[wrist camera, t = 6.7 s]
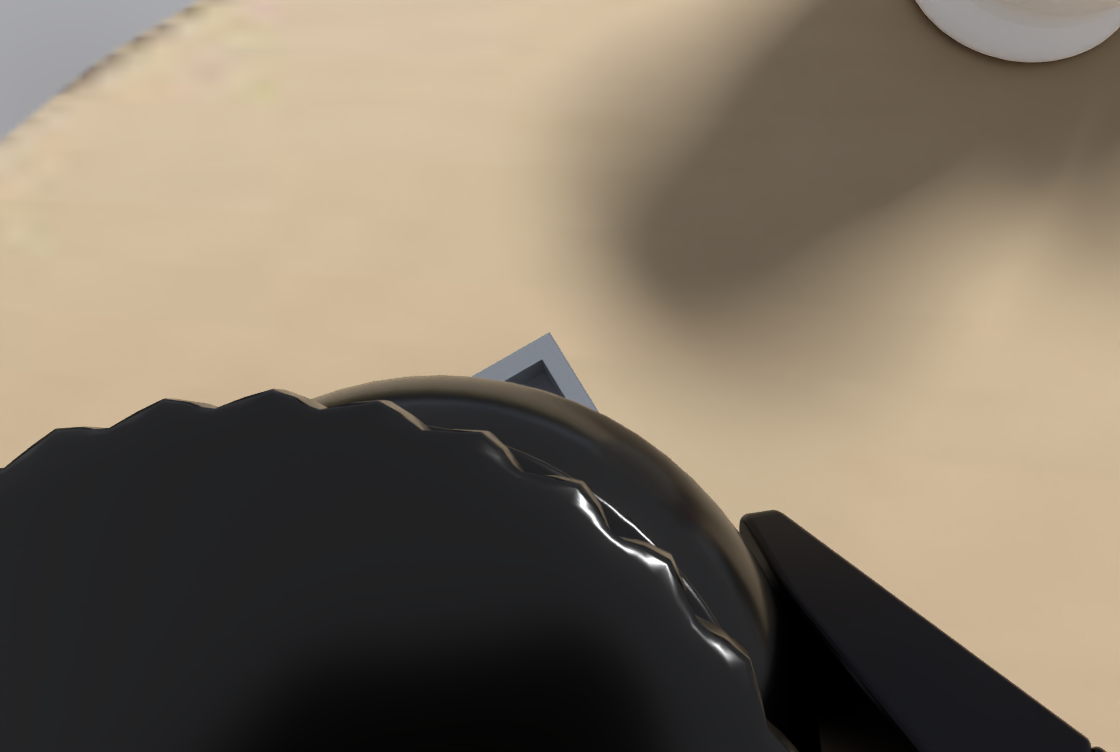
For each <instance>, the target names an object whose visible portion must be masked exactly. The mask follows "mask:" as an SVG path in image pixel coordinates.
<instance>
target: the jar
mask: <svg viewBox="0 0 1120 752" xmlns="http://www.w3.org/2000/svg"><path fill="white" fill-rule="evenodd" d="M915 1H916V2H917V4H918V5H919V7H920V8H921V9H922V11H923V12H924V13H925V15H926V16H927V17H928V18H929V19H930V20H931V21H932V22H933V23H934V24H935V25H936V26H937V27H938V28H939V29H940V30H942V31H943V32H944V33H946V34H947V35H948V36H950V37H951V38H953V39H954V40H956V41H957V42H959V43H961V44H962V45H964V46H966V47H969V48H971V49H973V50H975V51H977V52H980V53H982V54H985V55H989V56H992V57H996V58H1000V59H1004V60H1009V61H1018V62H1048V61H1056V60H1060V59H1065V58H1069V57H1072V56H1075V55H1078V54H1081V53H1083V52H1085V51H1087V50H1090V49H1092V48H1093V47H1095V46H1097V45H1099V44H1100V43H1102V42H1103V41H1105V40H1106V39H1107V38H1108V37H1110V36H1111V35H1112V34H1113V33H1114V32H1115V31H1116V30H1117V29H1118V28H1119V27H1120V0H915Z"/></svg>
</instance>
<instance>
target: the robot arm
mask: <svg viewBox="0 0 1120 752" xmlns="http://www.w3.org/2000/svg"><path fill="white" fill-rule="evenodd" d="M739 533H740V534H741V536H742V537H743V539H744V540H745V542H746V543H747V545H748V547H749V548H750V550H751V551H752V553H753V554H754V556H755V558H756V559H757V561H758V562H759V564H760V565H761V567H762V568H763V570H764V572H765V574H766V576H767V578H768V580H769V582H770V584H771V586H772V588H773V590H774V592H775V594H776V596H777V597H778V599H779V601H780V603H781V606H782V608H783V610H784V613H785V615H786V618H787V620H788V623H789V625H790V628H791V630H792V633H793V635H794V637H795V640H796V642H797V645H798V648H799V652H800V655H801V658H802V661H803V665H804V668H805V671H806V674H807V678H808V681H809V684H810V689H811V693H812V698H813V703H814V708H815V712H816V717H817V722H818V726H819V735H820V743H821V751H822V752H1106V751H1105V750H1103V749H1102V748H1100V747H1093V748H1091V743H1090V741H1089V740H1088V738H1086V737H1085V736H1084V735H1082V734H1081V733H1080V732H1078V731H1077V730H1076V729H1074V728H1073V727H1072V726H1070V725H1069V724H1068V723H1066V722H1065V721H1063V720H1062V719H1061V718H1059V717H1058V716H1057V715H1055V714H1054V713H1053V712H1051V711H1050V710H1049V709H1047V708H1046V707H1044V706H1043V705H1042V704H1040V703H1039V702H1038V701H1036V700H1035V699H1034V698H1032V697H1031V696H1030V695H1028V694H1027V693H1026V692H1024V691H1023V690H1021V689H1020V688H1019V687H1017V686H1016V685H1015V684H1013V683H1012V682H1011V681H1009V680H1008V679H1007V678H1005V677H1004V676H1002V675H1001V674H1000V673H998V672H997V671H996V670H994V669H993V668H992V667H990V666H989V665H988V664H986V663H985V662H984V661H982V660H981V659H979V658H978V657H977V656H975V655H974V654H973V653H971V652H970V651H969V650H967V649H966V648H965V647H963V646H962V645H960V644H959V643H958V642H956V641H955V640H954V639H952V638H951V637H950V636H948V635H947V634H946V633H944V632H943V631H942V630H940V629H939V628H937V627H936V626H935V625H933V624H932V623H931V622H929V621H928V620H927V619H925V618H924V617H923V616H921V615H920V614H919V613H917V612H916V611H914V610H913V609H912V608H910V607H909V606H908V605H906V604H905V603H904V602H902V601H901V600H900V599H898V598H897V597H895V596H894V595H893V594H891V593H890V592H889V591H887V590H886V589H885V588H883V587H882V586H881V585H879V584H878V583H877V582H875V581H874V580H872V579H871V578H870V577H868V576H867V575H866V574H864V573H863V572H862V571H860V570H859V569H858V568H856V567H855V566H853V565H852V564H851V563H849V562H848V561H847V560H845V559H844V558H843V557H841V556H840V555H839V554H837V553H836V552H835V551H833V550H832V549H830V548H829V547H828V546H826V545H825V544H824V543H822V542H821V541H820V540H818V539H817V538H816V537H814V536H813V535H811V534H810V533H809V532H807V531H806V530H805V529H803V528H802V527H801V526H799V525H798V524H797V523H795V522H794V521H793V520H791V519H790V518H788V517H787V516H786V515H784V514H783V513H781V512H779V511H776V510H769V511H763V512H756V513H749V514H745V515H744V516H743V517H742V518H741V520H740V526H739Z"/></svg>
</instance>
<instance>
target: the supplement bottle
mask: <svg viewBox="0 0 1120 752" xmlns="http://www.w3.org/2000/svg"><path fill="white" fill-rule="evenodd" d="M0 752H822V751H821V743H820V735H819V726H818V722H817V717H816V712H815V708H814V703H813V698H812V693H811V689H810V684H809V681H808V678H807V674H806V671H805V668H804V665H803V661H802V658H801V655H800V652H799V648H798V645H797V642H796V640H795V637H794V635H793V633H792V630H791V628H790V625H789V623H788V620H787V618H786V615H785V613H784V610H783V608H782V606H781V603H780V601H779V599H778V597H777V596H776V594H775V592H774V590H773V588H772V586H771V584H770V582H769V580H768V578H767V576H766V574H765V572H764V570H763V568H762V567H761V565H760V564H759V562H758V561H757V559H756V558H755V556H754V554H753V553H752V551H751V550H750V548H749V547H748V545H747V543H746V542H745V540H744V539H743V537H742V536H741V534H740V533H739V532H738V531H737V529H736V528H735V527H734V525H733V524H732V523H731V522H730V520H729V519H728V518H727V516H726V515H725V514H724V513H723V511H722V510H721V509H720V507H719V506H718V505H717V504H716V503H715V502H714V501H713V500H712V499H711V498H710V496H709V495H708V494H707V493H706V492H705V491H704V490H703V489H702V488H701V487H700V486H699V485H698V484H697V483H696V482H695V480H694V479H693V478H691V477H690V476H689V475H688V474H687V473H686V472H685V471H684V470H682V469H681V468H680V467H679V466H678V465H677V464H676V463H674V462H673V461H672V460H671V459H670V458H669V457H668V456H667V455H665V454H664V453H663V452H661V451H660V450H658V449H657V448H656V447H654V446H653V445H652V444H650V443H649V442H647V441H646V440H645V439H643V438H642V437H641V436H639V435H638V434H636V433H634V432H633V431H631V430H629V429H628V428H626V427H624V426H623V425H621V424H619V423H618V422H616V421H614V420H612V419H611V418H609V417H607V416H605V415H603V414H601V413H599V412H597V411H595V410H592V409H590V408H588V407H586V406H584V405H582V404H580V403H577V402H575V401H572V400H569V399H567V398H564V397H561V396H558V395H555V394H553V393H550V392H547V391H544V390H540V389H536V388H532V387H528V386H524V385H520V384H516V383H512V382H506V381H499V380H493V379H486V378H479V377H465V376H445V375H437V376H414V377H402V378H395V379H388V380H381V381H374V382H369V383H365V384H361V385H357V386H352V387H348V388H344V389H340V390H337V391H334V392H331V393H328V394H325V395H322V396H319V397H316V398H313V399H309V398H306V397H303V396H301V395H298V394H296V393H293V392H290V391H287V390H281V389H271V390H268V391H264V392H261V393H258V394H254V395H251V396H247V397H244V398H241V399H239V400H236V401H233V402H231V403H228V404H226V405H223V406H220V407H217V406H214V405H211V404H206V403H200V402H194V401H187V400H181V399H167V398H165V399H162V400H160V401H158V402H156V403H154V404H152V405H150V406H148V407H146V408H144V409H142V410H140V411H138V412H136V413H134V414H132V415H131V416H129V417H127V418H126V419H124V420H122V421H120V422H119V423H117V424H115V425H114V426H112V427H110V428H100V427H72V428H57V429H55V430H53V431H52V432H50V433H49V434H48V435H46V436H45V437H43V438H42V439H41V440H39V441H38V442H36V443H35V444H34V445H32V446H31V447H29V448H28V449H27V450H26V451H25V452H23V453H22V454H21V455H20V456H18V457H17V458H16V459H15V460H13V461H12V462H11V463H10V464H8V465H7V466H6V467H5V468H0Z"/></svg>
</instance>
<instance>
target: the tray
mask: <svg viewBox="0 0 1120 752" xmlns="http://www.w3.org/2000/svg"><path fill="white" fill-rule="evenodd" d="M472 377H479V378H486V379H493V380H499V381H506V382H512V383H516V384H520V385H524V386H528V387H532V388H536V389H540V390H544V391H547V392H550V393H553V394H555V395H558V396H561V397H564V398H567V399H569V400H572V401H575V402H577V403H580V404H582V405H584V406H586V407H588V408H590V409H592V410H595V411H597V412H598V410H597V408H596V407H595V405H594V404H593V402H592V400H591V399H590V397H589V395H588V394H587V392H586V391H585V389H584V387H583V386H582V384H581V382H580V381H579V379H578V378H577V376H576V374H575V373H574V371H573V370H572V368H571V366H570V365H569V363H568V361H567V360H566V358H565V357H564V355H563V353H562V352H561V350H560V348H559V347H558V345H557V344H556V342H555V340H554V339H553V337H552V335H551V334H550V332H549V333H547V334H546V335H544V336H542V337H540V338H539V339H537V340H535V341H533V342H532V343H530V344H528V345H526V346H525V347H523V348H521V349H519V350H518V351H516V352H514V353H512V354H511V355H509V356H507V357H505V358H504V359H502V360H500V361H498V362H497V363H495V364H493V365H491V366H490V367H488V368H486V369H484V370H483V371H481V372H479V373H477V374H476V375H474V376H472Z"/></svg>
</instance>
